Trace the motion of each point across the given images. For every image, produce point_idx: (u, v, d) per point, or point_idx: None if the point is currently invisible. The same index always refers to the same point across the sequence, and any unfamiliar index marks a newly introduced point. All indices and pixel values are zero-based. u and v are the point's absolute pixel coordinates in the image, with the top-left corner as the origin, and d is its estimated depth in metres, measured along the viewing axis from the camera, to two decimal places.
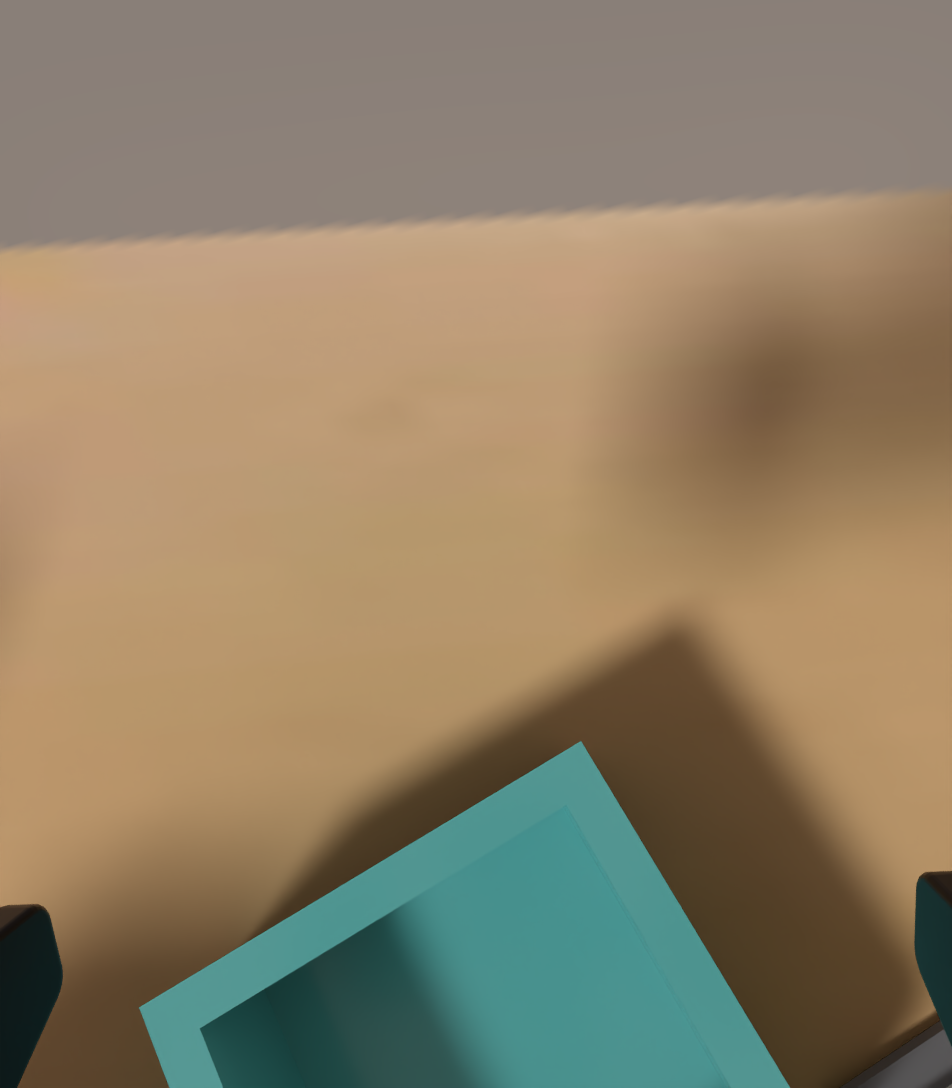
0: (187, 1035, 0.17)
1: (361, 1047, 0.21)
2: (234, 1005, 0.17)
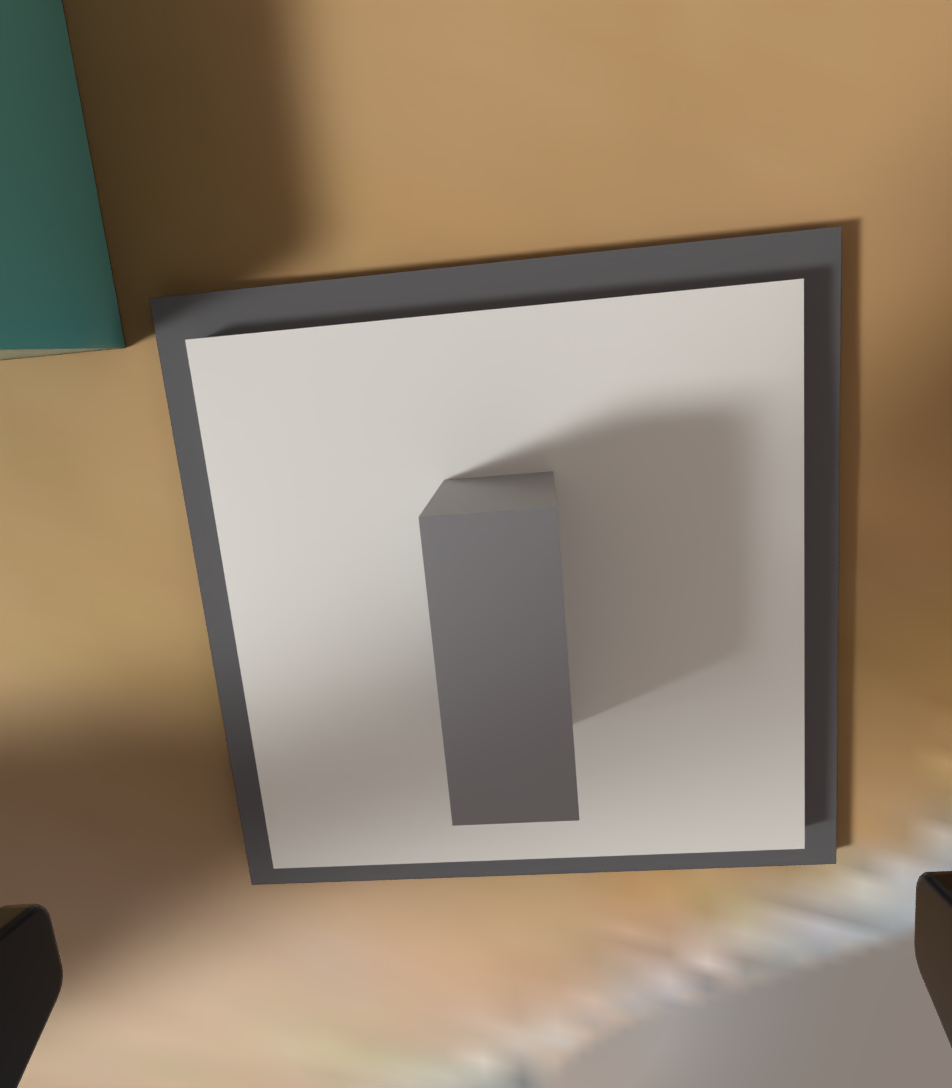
0: None
1: None
2: None
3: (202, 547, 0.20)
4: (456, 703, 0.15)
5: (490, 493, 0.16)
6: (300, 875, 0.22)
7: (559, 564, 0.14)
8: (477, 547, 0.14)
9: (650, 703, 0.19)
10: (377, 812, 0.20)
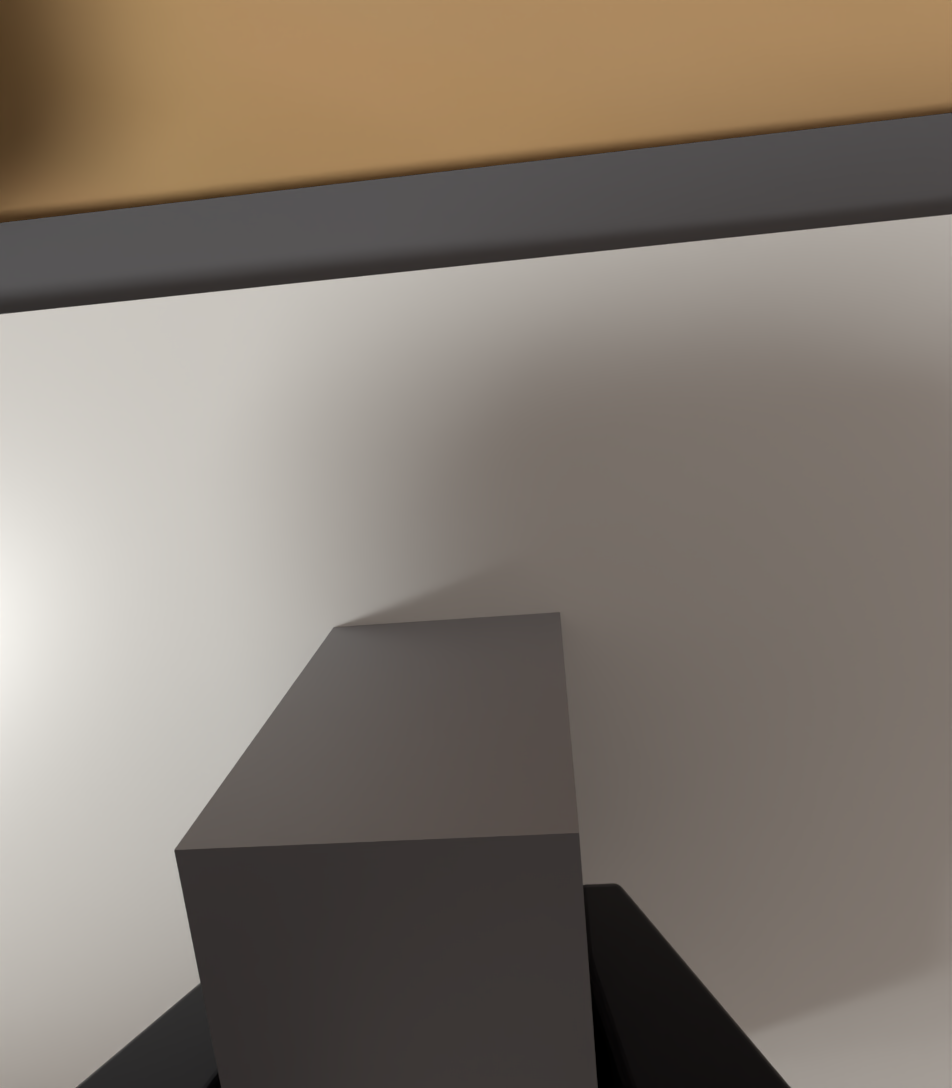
0: None
1: None
2: None
3: None
4: None
5: (409, 710, 0.07)
6: None
7: (585, 985, 0.05)
8: (347, 934, 0.05)
9: None
10: None
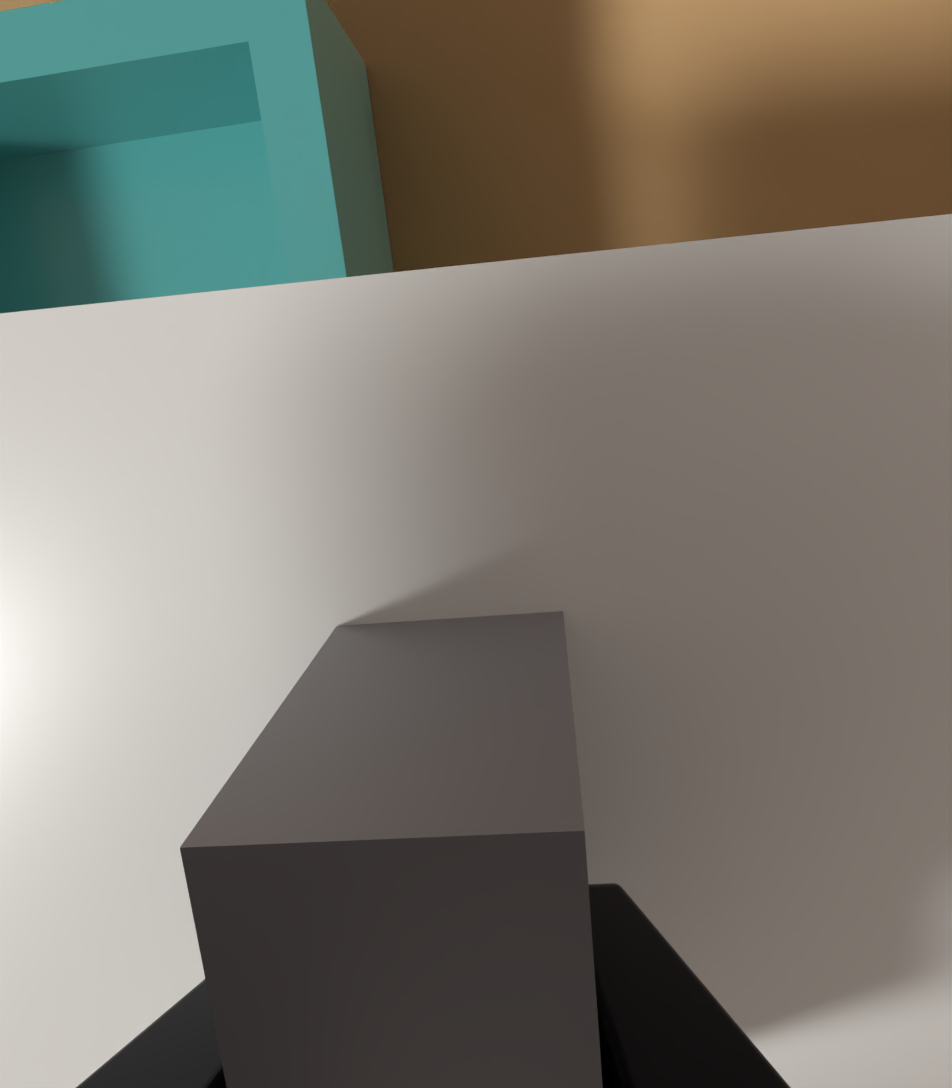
0: None
1: (13, 279, 0.18)
2: None
3: None
4: None
5: (413, 708, 0.07)
6: None
7: (590, 983, 0.05)
8: (352, 931, 0.05)
9: None
10: None
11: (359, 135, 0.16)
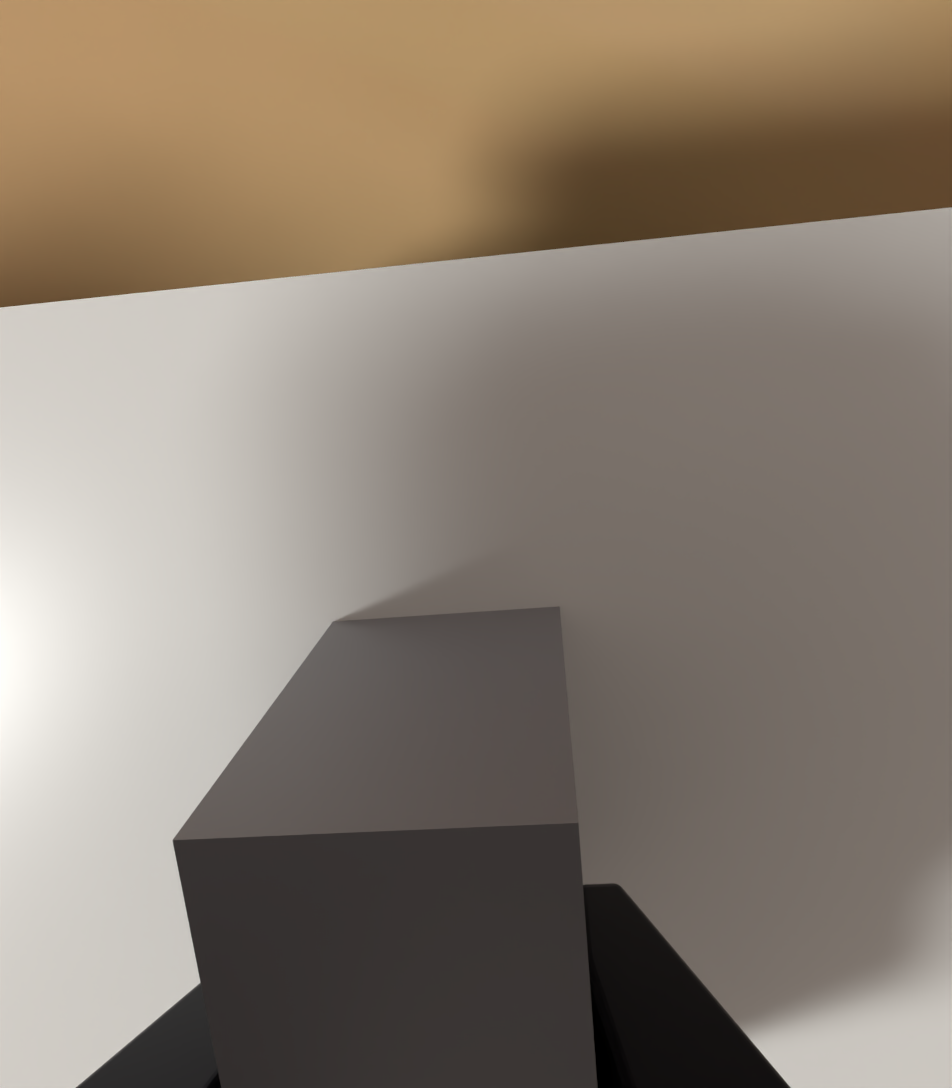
0: None
1: None
2: None
3: None
4: None
5: (408, 702, 0.07)
6: None
7: (584, 976, 0.05)
8: (346, 923, 0.05)
9: None
10: None
11: None
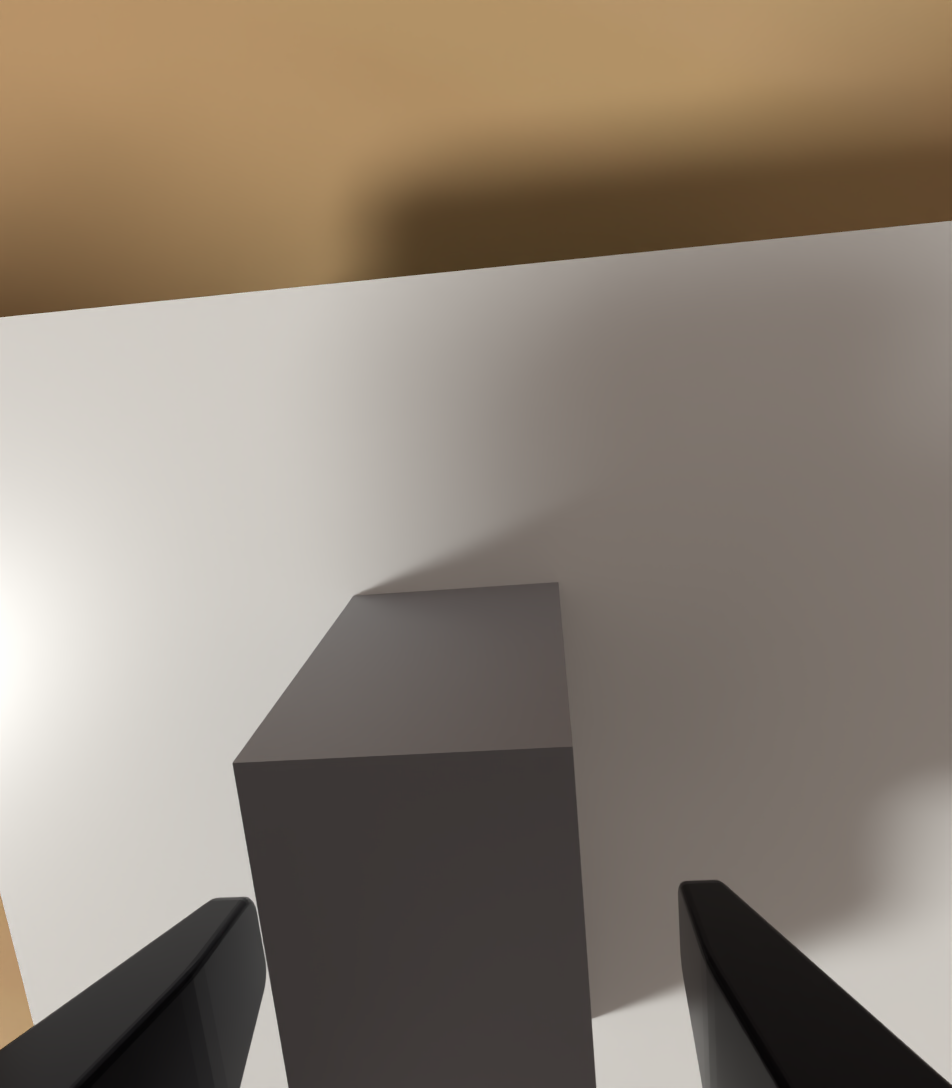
0: None
1: None
2: None
3: None
4: None
5: (426, 659, 0.07)
6: None
7: (577, 878, 0.06)
8: (376, 833, 0.06)
9: None
10: None
11: None
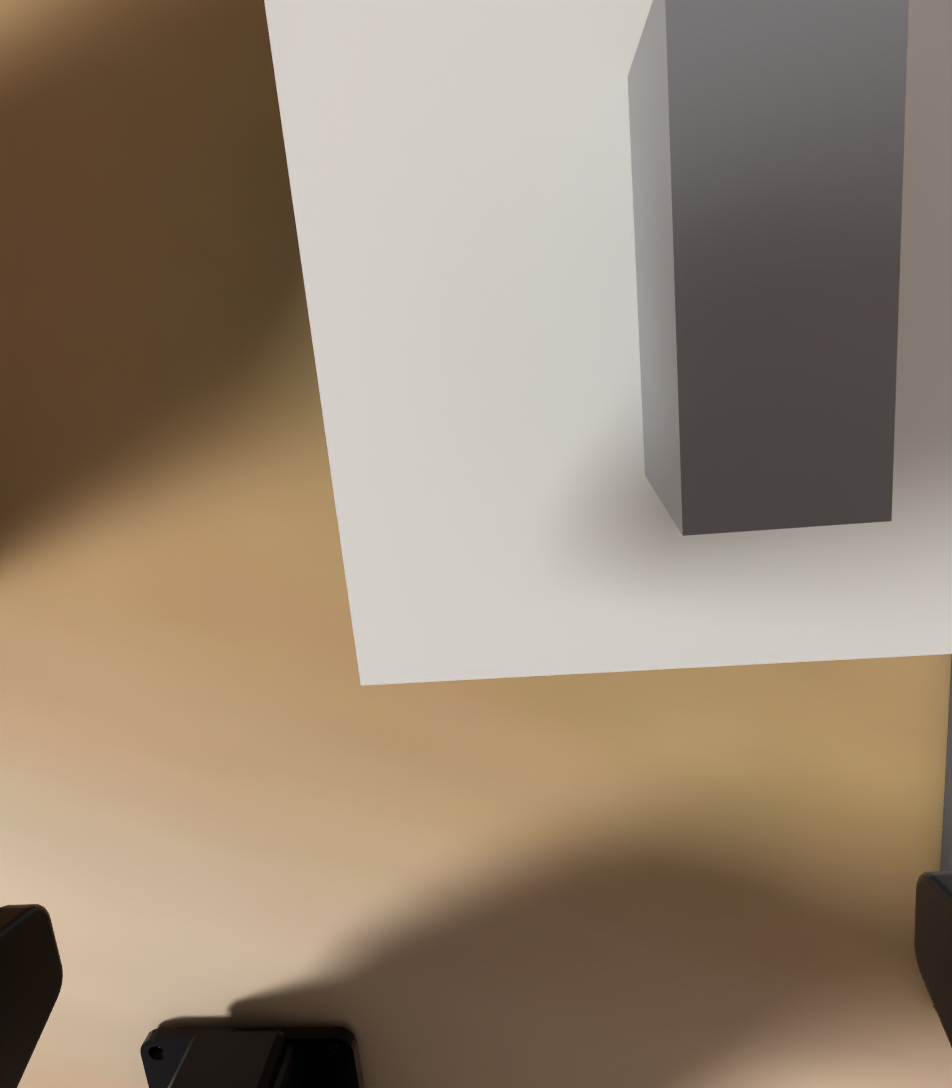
0: None
1: None
2: None
3: None
4: (704, 319, 0.09)
5: None
6: None
7: (904, 47, 0.08)
8: (762, 21, 0.09)
9: (913, 428, 0.13)
10: (508, 600, 0.15)
11: None
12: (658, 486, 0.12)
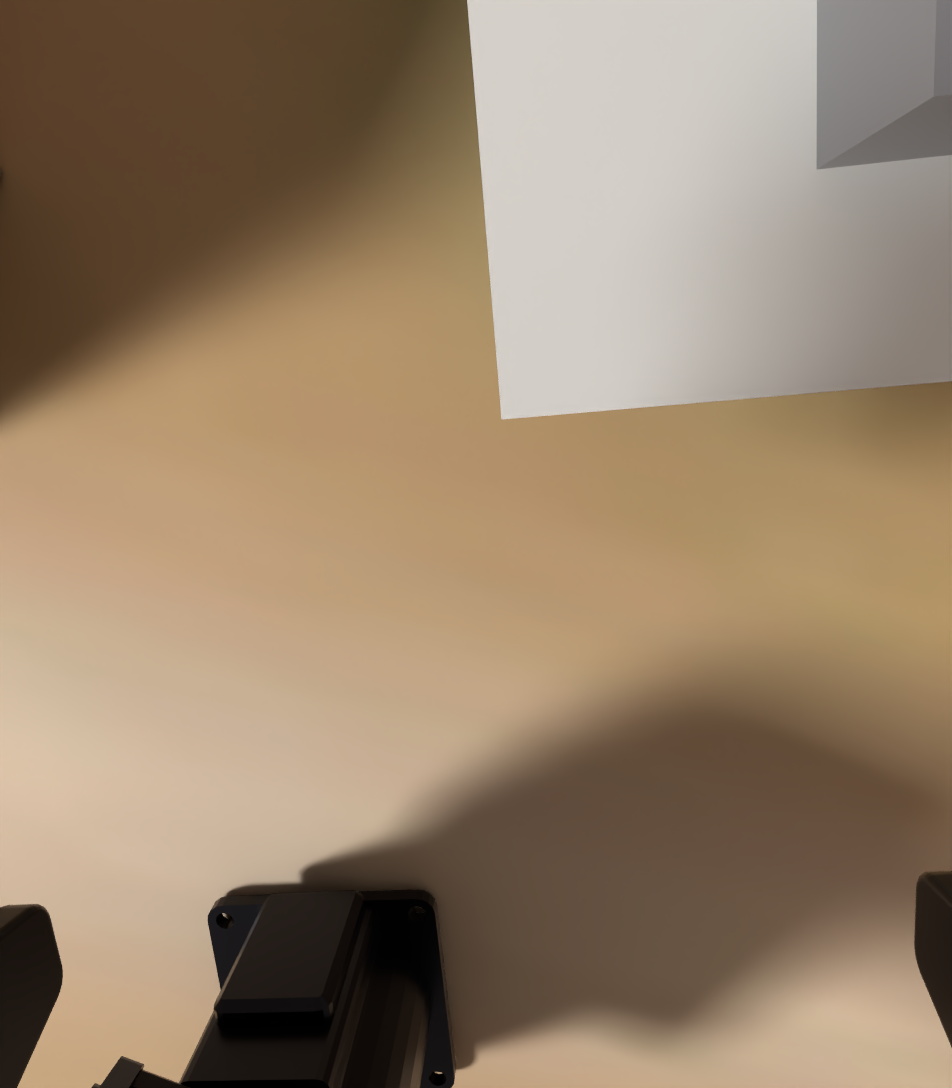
0: None
1: None
2: None
3: None
4: None
5: None
6: None
7: None
8: None
9: None
10: (664, 317, 0.14)
11: None
12: (860, 128, 0.11)
